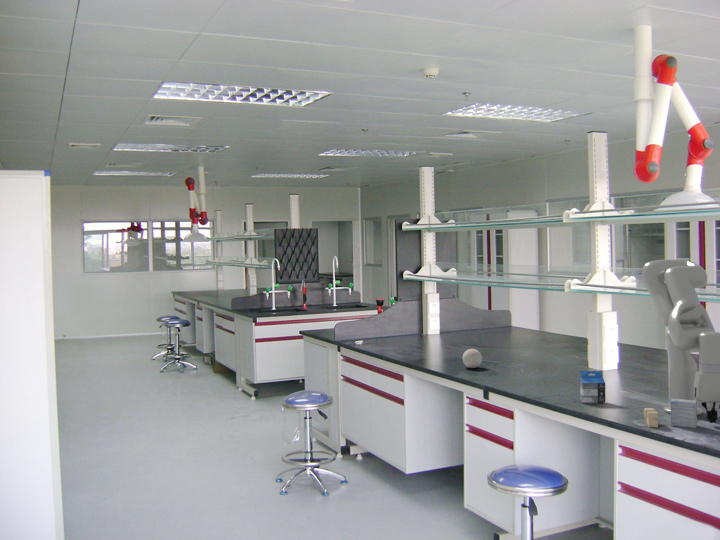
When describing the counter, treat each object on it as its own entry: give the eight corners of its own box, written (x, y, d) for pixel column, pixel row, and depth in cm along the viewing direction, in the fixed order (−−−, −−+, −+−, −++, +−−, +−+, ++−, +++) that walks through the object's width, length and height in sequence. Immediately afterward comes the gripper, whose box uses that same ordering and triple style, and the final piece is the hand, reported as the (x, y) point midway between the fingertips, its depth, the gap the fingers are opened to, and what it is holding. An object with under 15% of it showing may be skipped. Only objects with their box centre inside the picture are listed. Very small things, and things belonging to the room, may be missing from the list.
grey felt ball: (461, 366, 340) (461, 347, 340) (480, 366, 340) (480, 347, 339) (463, 370, 330) (463, 350, 330) (483, 369, 330) (483, 350, 329)
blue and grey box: (582, 403, 254) (582, 372, 254) (580, 401, 258) (579, 371, 258) (605, 403, 253) (605, 372, 253) (603, 401, 257) (602, 370, 257)
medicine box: (697, 425, 220) (696, 400, 220) (696, 428, 216) (696, 403, 216) (671, 422, 224) (671, 398, 224) (670, 426, 220) (670, 401, 220)
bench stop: (644, 422, 226) (644, 408, 225) (653, 422, 225) (653, 408, 225) (648, 427, 220) (648, 412, 220) (657, 427, 219) (657, 412, 219)
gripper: (731, 366, 220) (731, 419, 221) (684, 366, 223) (684, 418, 224) (739, 370, 213) (740, 425, 214) (691, 370, 216) (691, 424, 216)
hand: (711, 421), depth 219 cm, fingers closed
